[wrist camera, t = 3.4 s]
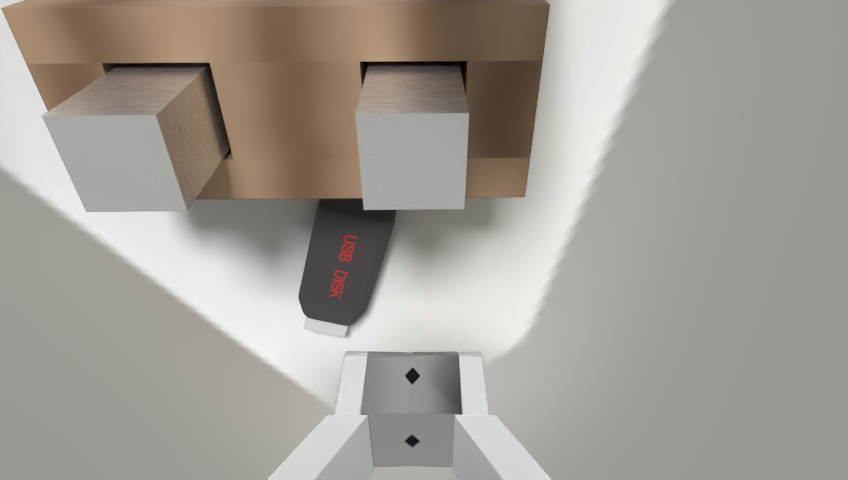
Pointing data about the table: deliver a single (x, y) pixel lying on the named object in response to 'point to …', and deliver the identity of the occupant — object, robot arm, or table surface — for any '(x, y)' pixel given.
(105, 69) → the walnut block
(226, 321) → the table surface
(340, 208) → the usb drive
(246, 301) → the table surface
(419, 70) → the peg right
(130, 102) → the peg left
